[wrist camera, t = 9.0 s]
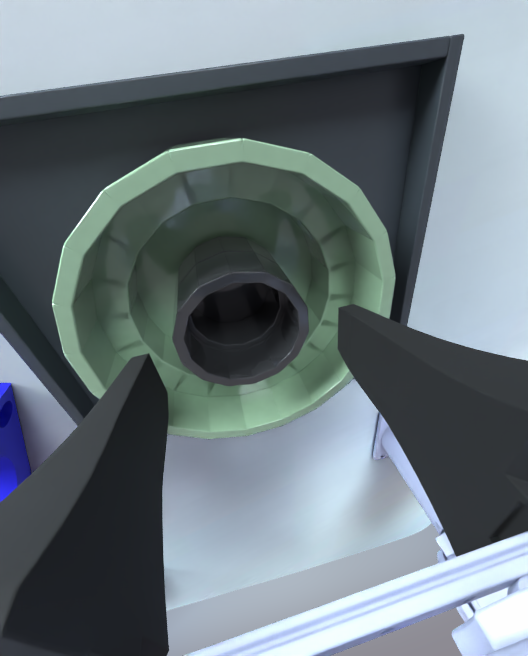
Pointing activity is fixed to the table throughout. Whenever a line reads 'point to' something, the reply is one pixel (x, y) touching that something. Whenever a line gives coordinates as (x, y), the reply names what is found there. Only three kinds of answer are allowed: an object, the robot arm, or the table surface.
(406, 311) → the tray
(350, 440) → the table surface
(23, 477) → the blue curved stand
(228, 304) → the black cup
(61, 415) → the table surface
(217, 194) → the sage bowl
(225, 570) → the table surface
